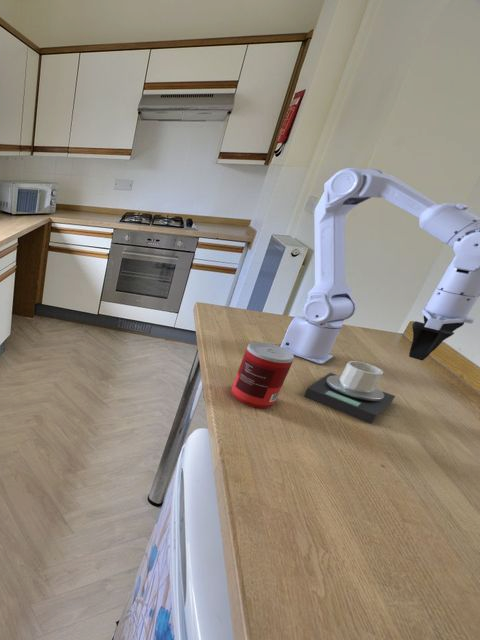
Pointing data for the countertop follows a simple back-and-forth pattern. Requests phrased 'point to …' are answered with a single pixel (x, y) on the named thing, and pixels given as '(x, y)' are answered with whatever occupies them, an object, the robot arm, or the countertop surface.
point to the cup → (360, 376)
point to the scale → (347, 401)
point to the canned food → (261, 374)
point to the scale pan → (370, 396)
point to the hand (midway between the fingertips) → (420, 354)
